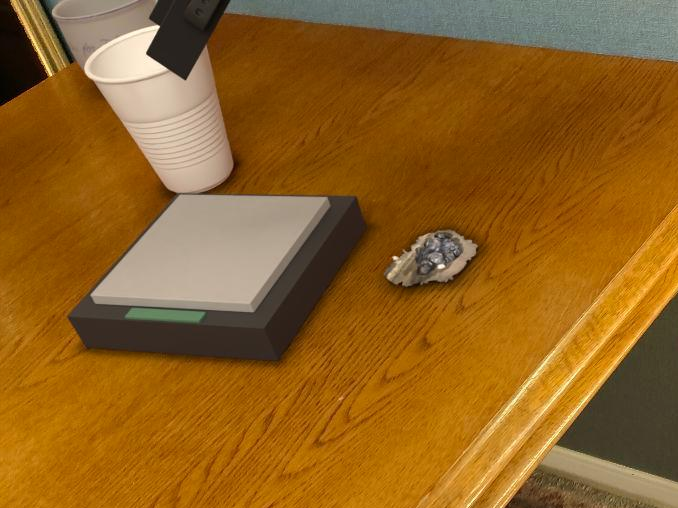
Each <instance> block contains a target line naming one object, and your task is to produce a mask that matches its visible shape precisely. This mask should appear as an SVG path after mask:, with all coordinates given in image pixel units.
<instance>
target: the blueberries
mask: <svg viewBox="0 0 678 508" xmlns="http://www.w3.org/2000/svg"><path fill="white" fill-rule="evenodd" d="M417 238H418V239H415V241H416V242H415V243H413V244H411V245H410V249H411V250H410V251H406V250H405V249H404V248H402V249H401V250H403V251H402V252H403V253H401V255H400V257H399V256H396V255H393V256H392V257H391V259H393V261H394V262H391V264H390V266H387V268H385V271H384V272H383V273H382V274H383V275H384V276H385V279H387V280H388V281H390V282H391V283H392V284H394V285H396V286H398V285H399V284H400V283H402V284H401V285H402V286H403V287H405V288H406V287H409V286H413V285H415V284H420V286H422V285H423V284H429V282H430V281H431V282H432V281H437V282H438V283H439V282H440V283H443V282H445V283H447V282H448V281H449V280H450V281H452V280H454V278H453V276H455V275H458V273H460V272H461V271H462V270H463V269H464V267H465V266H466V265H467V261H468V260H469V261H472V258H473V257H475V256H477V255H476V254H477V248H478V247H479V245H477V244H476V243H473V239H465V237H464V235H461V234H459V233H458V232H456V231H455V230H452V229H446V230H440V229H439V230H437V231H436V232H428V233H426V234H424V235H421V236H418V237H417Z"/></svg>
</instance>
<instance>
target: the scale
mask: <svg viewBox="0 0 678 508" xmlns="http://www.w3.org/2000/svg"><path fill="white" fill-rule="evenodd" d="M363 215H364V214H363V212H362V210H361V206H360V203H359V200H358V196H357V195H332V194H331V195H329V194H327V195H326V194H325V195H324V194H323V195H321V194H319V195H318V194H266V193H265V194H263V193H262V194H259V193H258V194H257V193H256V194H255V193H204V192H201V193H175V195H174V196H173V197H172V198H171V200H170V201H168V203H167V204H166V205H165V206H164V207H163V208H162V210H160V212H159V213H158V214H157V215H156V216H155V217H154V218H153V219H152V221H151V222H150V223H149V224H148V225H147V226H146V227H145V228H144V230H143V231H142V232H141V233H140V234H139V235H138V236H137V238H136V239H135V240H134V241H133V242H132V243H131V244H130V245H129V247H127V249H126V250H125V251H124V252H123V253H121V255H120V256H119V258H117V260H116V261H115V262H114V263H113V264H112V265H111V266H110V267H109V268H108V269H107V271H106V272H105V273H104V274H103V275H102V276H101V277H100V278H99V280H98V281H97V282H96V283H95V284H94V285H93V286H92V288H91V289H90V290H89V291H88V292H87V293H86V294H85V295H84V296H83V297H82V299H81V300H80V301H79V302H78V303H77V304H76V305H75V307H73V308H72V310H71V311H70V312H69V313H68V314H67V315H66V318H67V319H68V321H69V323H70V324H71V326H72V328H73V329H74V331H75V332H76V334H77V336H78V337H79V339H80V341H81V342H82V344H83V345H84V347H85V348H86V349H100V350H101V349H102V350H115V351H116V350H117V351H128V352H129V351H130V352H131V351H132V352H145V353H157V354H173V355H188V356H199V357H200V356H202V357H213V358H214V357H215V358H228V359H229V358H230V359H243V360H244V359H245V360H257V361H269V362H271V361H272V362H279V361H280V359H281V358H282V357H283V355H284V353H285V352H286V351H287V349H288V347H289V346H290V344H291V343H292V341H293V339H294V338H295V337H296V335H297V334H298V332H299V331H300V329H301V328H302V327H303V325H304V323H305V322H306V321H307V319H308V317H309V316H310V315H311V313H312V312H313V310H314V308H315V306H316V305H317V304H318V302H319V300H320V299H321V298H322V296H323V295H324V293H325V291H326V290H327V288H328V287H329V286H330V284H331V283H332V281H333V279H334V278H335V277H336V275H337V274H338V272H339V271H340V269H341V268H342V266H343V264H344V263H345V262H346V260H347V259H348V257H349V255H350V254H351V252H352V251H353V249H354V248H355V247H356V245H357V244H358V242H359V241H360V239H361V238H362V236H363V235H364V233H365V232H366V230H367V225H366V222H365V218H364V216H363Z"/></svg>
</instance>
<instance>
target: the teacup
mask: <svg viewBox="0 0 678 508" xmlns="http://www.w3.org/2000/svg"><path fill="white" fill-rule="evenodd" d="M157 1H158V0H62V1H59V2H58V3H56V5H55V6H54V7H53V8H52V10H51V16H52V18H53V19H54V20H55V21H56V23H57V25H58V27H59V29H60V31H61V33H62V36H63V38H64V40H65V42H66V43H67V46H68V47H69V49H70V52H71V53H72V56H73V57H74V59H75V61H76V63H77V64H78V66H79V67H80V68H81V70H82V71H83V72H84V73H85V70H84V67H85V63H86V61H87V60H88V58H89V57H90V56H91V55H92V54H93V53H94V52H95V51H96V50H98V49H99V48H100V47H102V46H103V45H105V44H107V43H108V42H110V41H112V40H114V39H116V38H118V37H120V36H123V35H125V34H128V33H130V32H133V31H136V30H139V29H143V28H146V27H151V26H155V25H157V24H156V23H154V22H153V21H151V20H150V19H149V16H150V14H151V12H152V11H153V9H154V7H155V5H156V3H157Z"/></svg>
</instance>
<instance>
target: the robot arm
mask: <svg viewBox="0 0 678 508" xmlns="http://www.w3.org/2000/svg"><path fill="white" fill-rule="evenodd" d="M231 1H232V0H158V1H157V3H156V5H155V7H154V9H153V11H152V12H151V14H150V16H149V19H150V20H151V21H153V22H154V23H156V24H157V25H158V26H160V27H159V29H158V31H157V33H156V35H155V37H154V38H153V40H152V42H151V44H150V46H149V48H148V50H147V51H146V55H147V56H149V57H150V58H152V59H153V60H155V61H156V62H158V63H159V64H161V65H162V66H164V67H165V68H167V69H168V70H170V71H171V72H173V73H174V74H176V75H177V76H179V77H180V78H182V79H183V80H185V81H186V80H187V78H188V76H189V74H190V72H191V71H192V69H193V67H194V65H195V63H196V62H197V60H198V58H199V56H200V55H201V53H202V51H203V49H204V47H205V46H206V45H208V42H209V40H210V38H211V36H212V35H213V33H214V31H215V30H216V28H217V26H218V24H219V22H220V21H221V19H222V17H223V15H224V13H225V12H226V10H227V8H228V6H229V4H230V2H231Z"/></svg>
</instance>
